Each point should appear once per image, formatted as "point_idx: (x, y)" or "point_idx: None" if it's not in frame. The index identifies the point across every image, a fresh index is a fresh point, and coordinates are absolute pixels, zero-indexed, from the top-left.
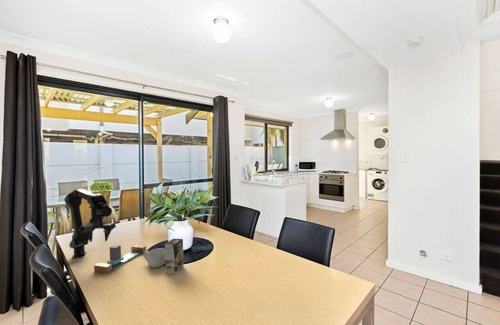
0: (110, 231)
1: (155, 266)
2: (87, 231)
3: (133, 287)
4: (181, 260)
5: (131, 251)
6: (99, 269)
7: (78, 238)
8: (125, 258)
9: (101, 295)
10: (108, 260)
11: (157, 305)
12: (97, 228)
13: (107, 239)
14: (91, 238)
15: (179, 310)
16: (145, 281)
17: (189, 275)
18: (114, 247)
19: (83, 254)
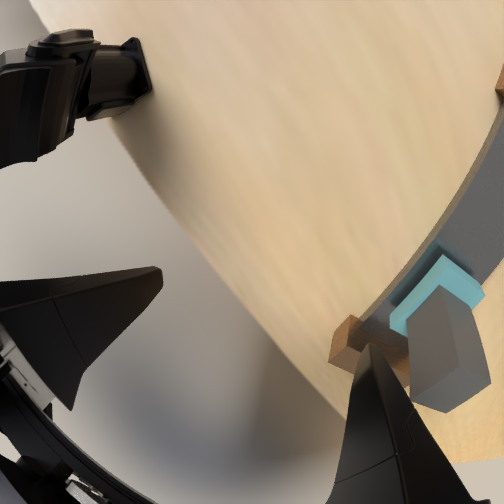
0: (434, 465)
1: None
2: (61, 394)
3: (458, 423)
4: None
5: (500, 90)
6: None
7: (24, 153)
8: (486, 241)
9: None
10: (397, 322)
11: (470, 450)
12: (145, 499)
13: (383, 355)
14: (135, 295)
15: (487, 453)
16: (490, 408)
17: None
18: (443, 406)
19: (138, 77)
